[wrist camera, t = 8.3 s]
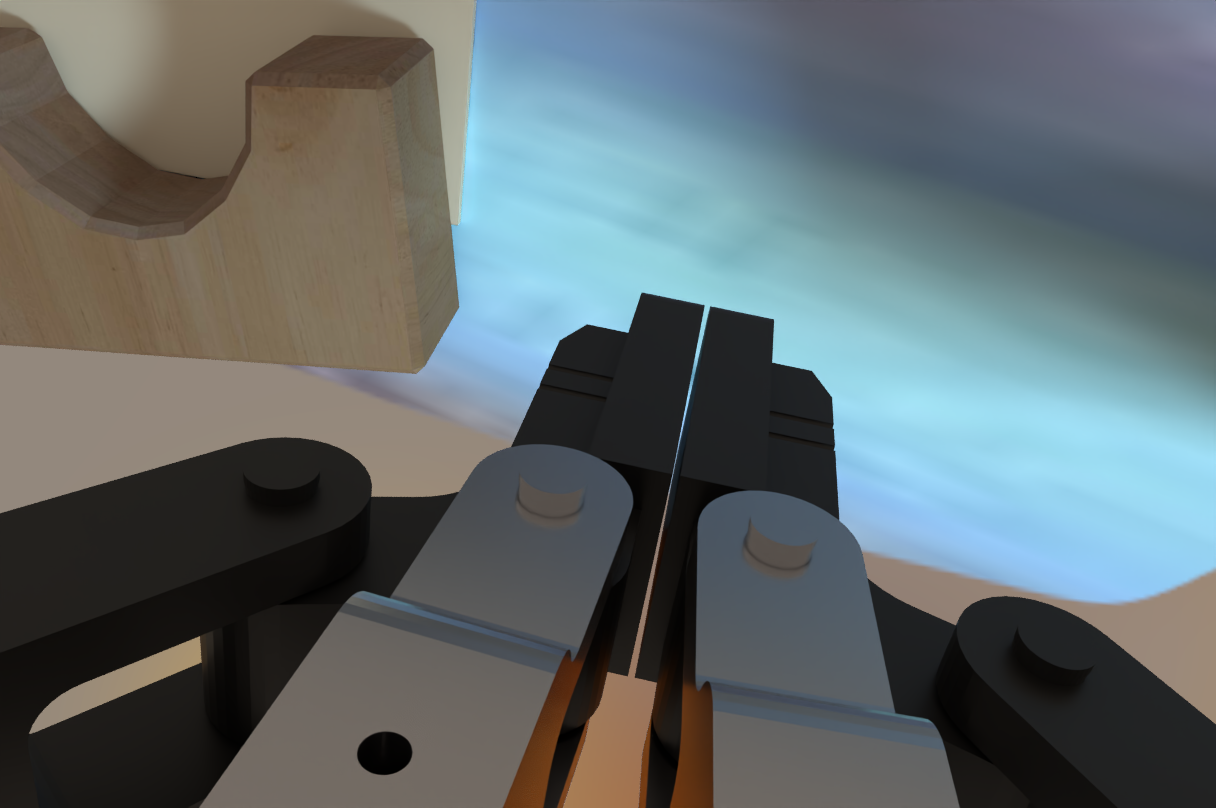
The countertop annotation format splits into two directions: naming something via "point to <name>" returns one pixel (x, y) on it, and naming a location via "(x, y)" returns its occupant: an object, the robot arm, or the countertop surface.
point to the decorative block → (236, 218)
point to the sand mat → (227, 66)
